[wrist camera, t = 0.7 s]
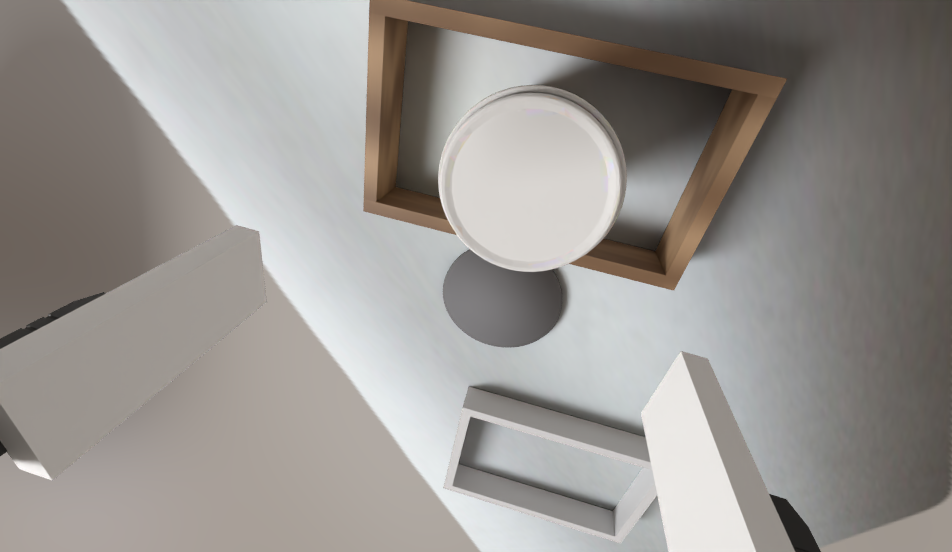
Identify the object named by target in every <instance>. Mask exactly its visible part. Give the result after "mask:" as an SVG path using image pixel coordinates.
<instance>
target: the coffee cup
mask: <svg viewBox="0 0 952 552" xmlns="http://www.w3.org/2000/svg"><path fill="white" fill-rule="evenodd" d="M626 181H627V172H626V162H625V157H624V153H623V150H622V147H621V144H620V141H619V139H618V137H617V135H616V133H615V131H614V130H613V128H612V127H611V125H610V124H609V122H608V121H607V120H606V119H605V117H604V116H603V115H602V114H601V113H600V112H599V111H598V110H597V109H596V108H595V107H593V106H592V105H591V104H589V103H588V102H587V101H585V100H584V99H582V98H580V97H579V96H577V95H575V94H573V93H570V92H568V91H565V90H562V89H559V88H555V87H549V86H543V85H526V86H518V87H513V88H508V89H505V90H502V91H499V92H497V93H495V94H493V95H490V96H488V97H487V98H485V99H483V100H482V101H480V102H479V103H477V104H476V105H475V106H474V107H472V108H471V109H470V110H469V111H468V112H467V113H466V114H465V115H464V116H463V117H462V118H461V119H460V121H459V122H458V123H457V124H456V126H455V127H454V129H453V131H452V132H451V134H450V135H449V138H448V140H447V142H446V144H445V146H444V149H443V152H442V155H441V160H440V164H439V172H438V185H439V194H440V199H441V203H442V207H443V210H444V212H445V215H446V217H447V219H448V221H449V223H450V225H451V226H452V228H453V230H454V231H455V233H456V234H457V236H458V237H459V238H460V239H461V240H462V242H463V243H464V244H465V245H466V246H467V247H468V248H469V249H470V250H472V251H473V252H474V253H476V254H477V255H478V256H480V257H481V258H483V259H484V260H486V261H488V262H490V263H492V264H495V265H497V266H499V267H503V268H506V269H510V270H515V271H523V272H537V271H546V270H551V269H555V268H558V267H561V266H564V265H567V264H569V263H571V262H573V261H575V260H577V259H579V258H580V257H582V256H584V255H585V254H587V253H588V252H589V251H591V250H592V249H593V248H594V247H595V246H596V245H598V244H599V243H600V242H601V241H602V240H603V238H604V237H605V236H606V235H607V234H608V232H609V231H610V229H611V228H612V226H613V225H614V223H615V221H616V219H617V217H618V215H619V213H620V210H621V208H622V205H623V201H624V197H625V191H626Z"/></svg>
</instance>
